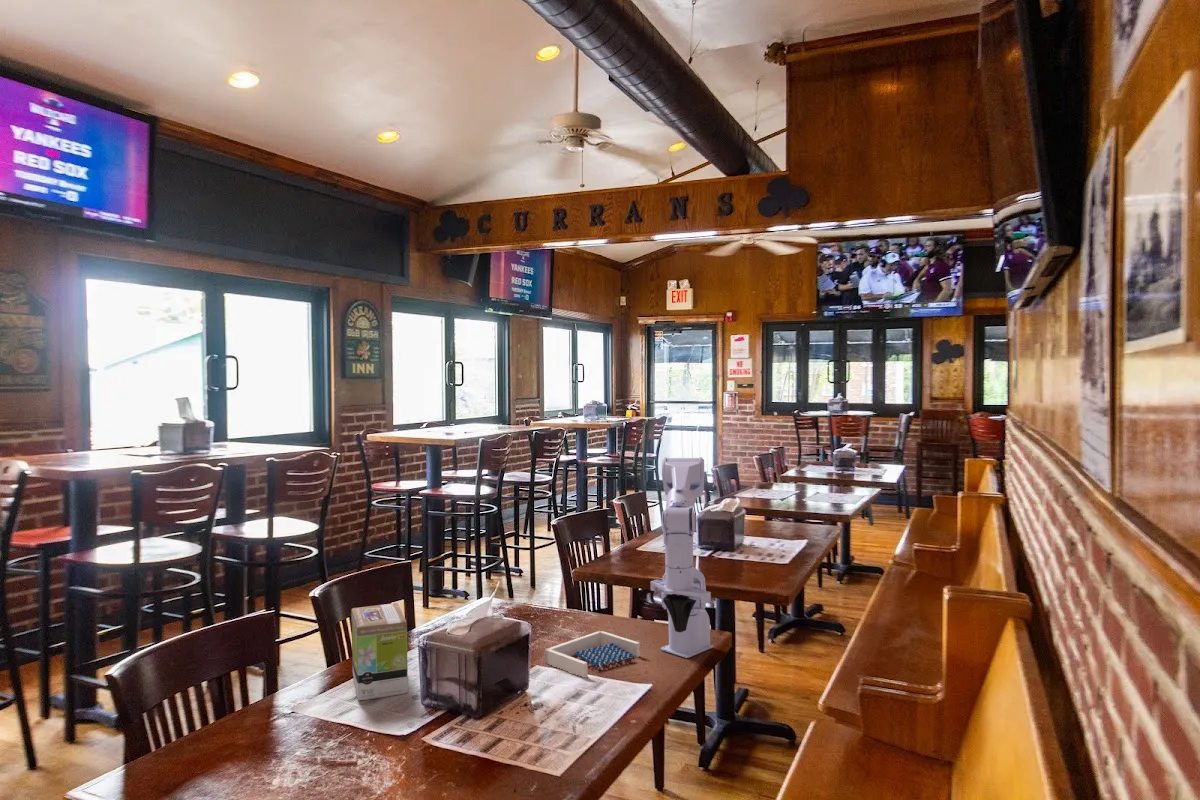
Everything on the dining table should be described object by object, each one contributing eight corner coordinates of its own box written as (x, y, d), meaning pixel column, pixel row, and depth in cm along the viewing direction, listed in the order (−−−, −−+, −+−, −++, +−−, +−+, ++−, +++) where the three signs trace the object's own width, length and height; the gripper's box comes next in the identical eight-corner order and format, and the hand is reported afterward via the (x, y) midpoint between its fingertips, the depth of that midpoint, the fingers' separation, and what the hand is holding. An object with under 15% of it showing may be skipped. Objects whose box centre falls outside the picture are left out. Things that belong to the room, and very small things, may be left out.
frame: (600, 643, 182) (600, 630, 182) (640, 656, 173) (639, 642, 173) (545, 663, 170) (544, 649, 170) (584, 678, 161) (583, 663, 161)
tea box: (410, 693, 155) (407, 620, 155) (357, 702, 152) (354, 627, 151) (400, 668, 169) (397, 600, 169) (351, 675, 166) (349, 606, 165)
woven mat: (571, 660, 173) (570, 651, 173) (611, 650, 178) (611, 641, 178) (595, 675, 164) (595, 665, 164) (637, 664, 169) (636, 655, 169)
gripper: (640, 563, 163) (641, 627, 163) (694, 575, 152) (696, 643, 153) (662, 557, 168) (663, 619, 168) (716, 568, 157) (717, 634, 158)
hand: (680, 630), depth 161 cm, fingers closed
